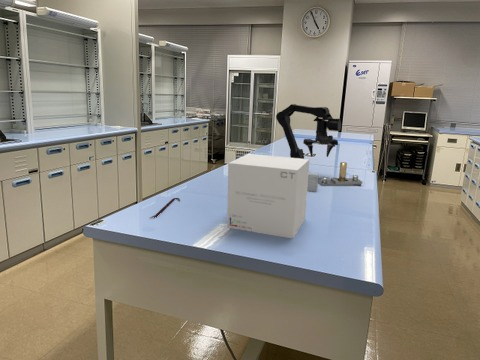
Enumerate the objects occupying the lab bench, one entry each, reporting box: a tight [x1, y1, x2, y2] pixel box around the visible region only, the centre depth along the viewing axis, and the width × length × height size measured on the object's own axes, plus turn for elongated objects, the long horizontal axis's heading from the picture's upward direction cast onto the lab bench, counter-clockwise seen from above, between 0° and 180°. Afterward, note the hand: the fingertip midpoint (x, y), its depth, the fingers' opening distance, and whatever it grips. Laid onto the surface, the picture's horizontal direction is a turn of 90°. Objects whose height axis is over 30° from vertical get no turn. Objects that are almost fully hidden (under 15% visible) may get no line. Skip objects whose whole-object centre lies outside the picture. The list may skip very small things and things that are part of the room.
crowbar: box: [149, 197, 181, 219], centre depth 157 cm, size 28×1×5 cm
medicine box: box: [307, 172, 319, 193], centre depth 190 cm, size 8×4×9 cm, turn 71°
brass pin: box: [338, 161, 348, 181], centre depth 204 cm, size 4×4×12 cm
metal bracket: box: [318, 174, 363, 187], centre depth 204 cm, size 23×8×5 cm, turn 96°
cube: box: [226, 153, 310, 239], centre depth 140 cm, size 25×21×24 cm
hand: (319, 156), depth 212 cm, fingers open, 9 cm apart
